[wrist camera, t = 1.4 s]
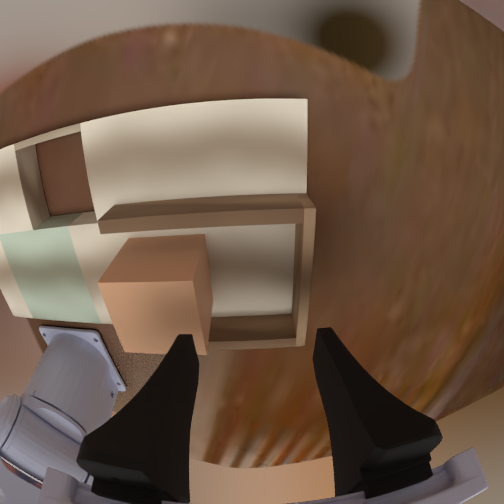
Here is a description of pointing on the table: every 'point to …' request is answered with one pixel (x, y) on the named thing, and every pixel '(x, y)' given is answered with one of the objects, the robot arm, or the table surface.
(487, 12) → the greeting card
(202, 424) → the table surface
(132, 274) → the cube
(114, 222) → the wooden frame
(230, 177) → the plate
